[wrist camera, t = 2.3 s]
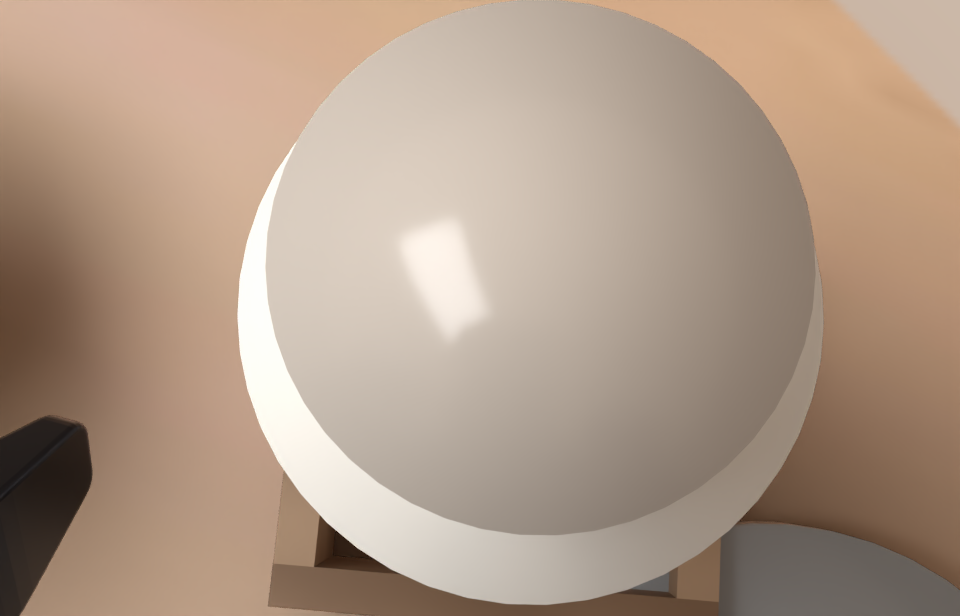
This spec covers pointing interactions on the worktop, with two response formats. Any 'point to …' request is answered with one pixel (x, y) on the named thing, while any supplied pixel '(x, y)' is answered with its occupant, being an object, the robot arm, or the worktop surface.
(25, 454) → the robot arm
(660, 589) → the plate
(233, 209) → the worktop surface
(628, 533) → the salt mill
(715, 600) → the holder
